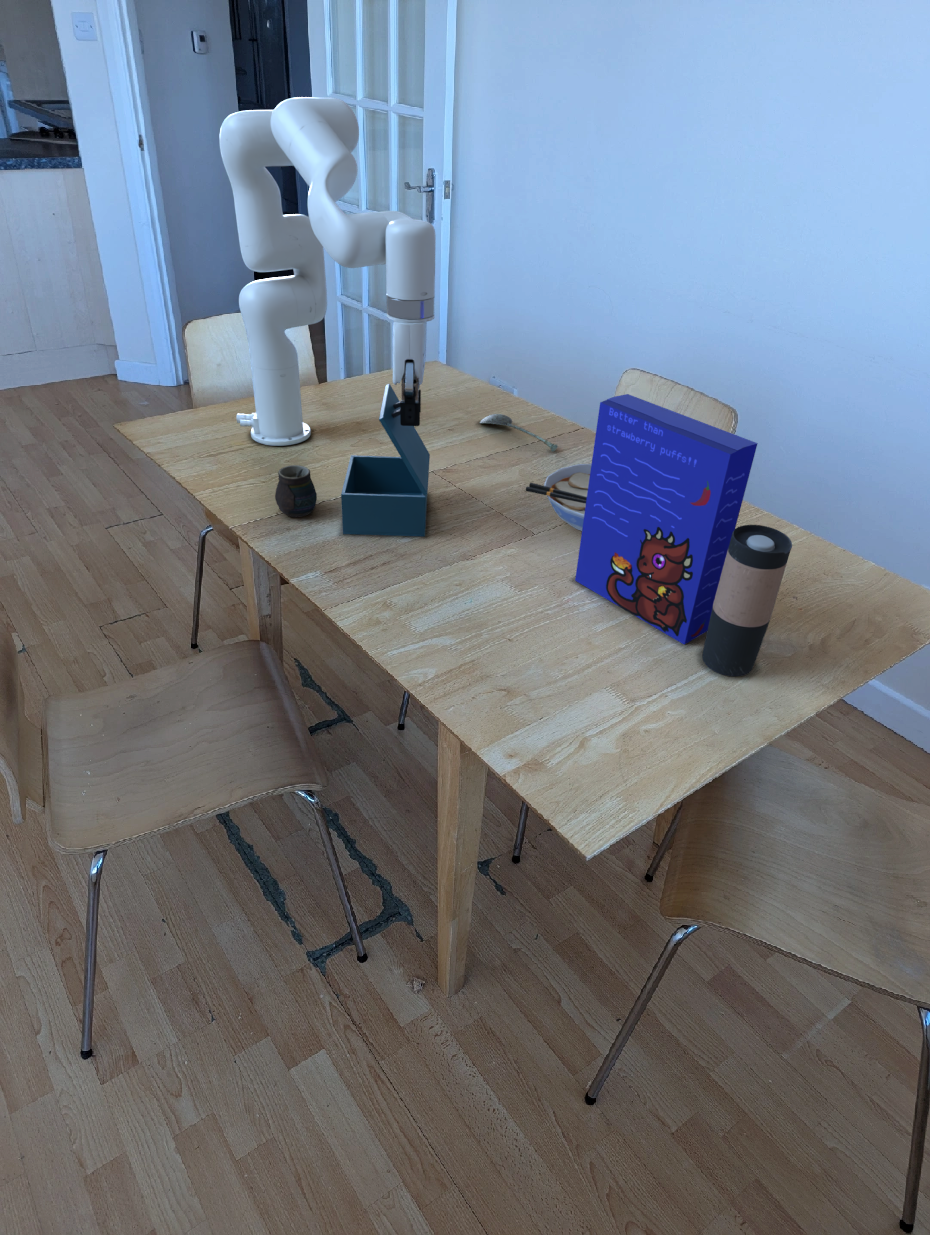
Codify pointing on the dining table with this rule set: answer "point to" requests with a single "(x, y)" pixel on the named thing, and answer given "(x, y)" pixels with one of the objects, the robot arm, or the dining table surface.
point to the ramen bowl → (567, 492)
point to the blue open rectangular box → (382, 498)
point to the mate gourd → (295, 491)
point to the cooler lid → (405, 440)
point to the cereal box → (661, 513)
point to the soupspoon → (507, 421)
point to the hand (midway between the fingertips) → (410, 417)
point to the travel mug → (745, 598)
